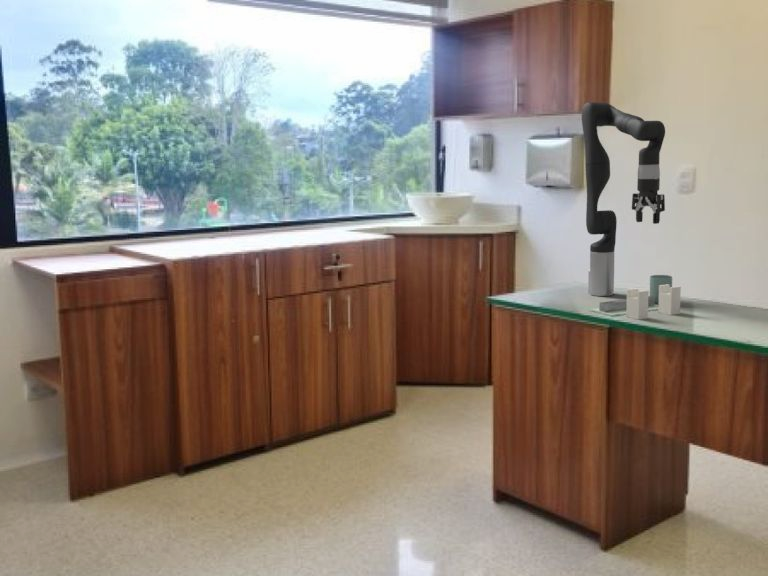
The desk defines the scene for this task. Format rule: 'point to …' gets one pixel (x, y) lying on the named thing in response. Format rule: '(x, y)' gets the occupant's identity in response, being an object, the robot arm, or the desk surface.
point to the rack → (639, 302)
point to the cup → (654, 285)
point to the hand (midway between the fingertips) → (647, 222)
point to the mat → (620, 311)
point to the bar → (619, 305)
